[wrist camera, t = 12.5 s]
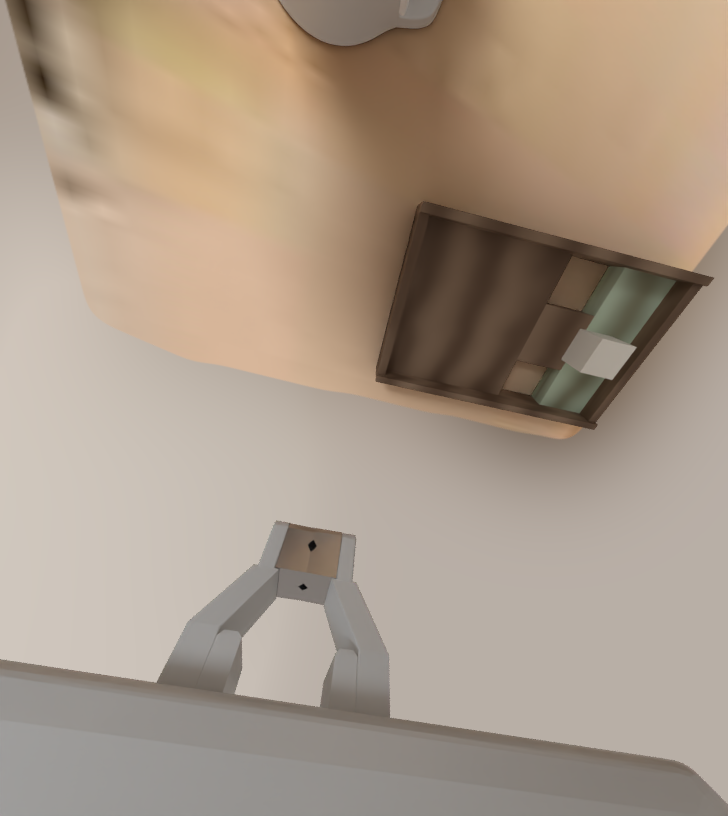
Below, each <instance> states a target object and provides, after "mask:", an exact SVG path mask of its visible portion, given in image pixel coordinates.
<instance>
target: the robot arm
mask: <svg viewBox="0 0 728 816" xmlns="http://www.w3.org/2000/svg"><path fill="white" fill-rule="evenodd" d="M279 1H280V2H281V4H282V5H283V7H284V8H285V10H286V11H287V12H288V13H289V15H290V16H291V17H292V18H293V19H294V21H295V22H296V23H297V24H298V25H299V26H300V27H302V28H303V29H304V30H305V31H306V32H308V33H309V34H311V35H312V36H314V37H315V38H317V39H319V40H321V41H323V42H326V43H329V44H333V45H339V46H351V45H357V44H361V43H364V42H367V41H369V40H371V39H373V38H375V37H377V36H379V35H380V34H382V33H384V32H386V31H388V30H390V29H392V28H396V27H399V28H411V29H413V28H423V27H426V26H428V25H429V24H431V22H432V21H433V20H434V19H435V17H436V15H437V13H438V10H439V8H440V5H441V3H442V0H279ZM355 545H356V537H355V535H351V534H344V533H342V532H335V531H330V530H323V529H318V528H311V527H306V526H301V525H296V524H291V523H287V522H281V521H276V522H275V524H274V526H273V528H272V531H271V534H270V536H269V539H268V541H267V544H266V546H265V549H264V551H263V554H262V557H261V559H260V562H259V564H258V565H255V564H254V565H253V566H252V567H250V568H249V569H248V570H247V571H246V572H245V573H244V574H242V575H241V576H240V577H239V578H238V579H237V580H235V581H234V582H233V583H232V584H231V585H230V586H229V587H227V588H226V589H225V590H224V591H223V592H222V593H220V594H219V595H218V596H217V597H216V598H215V599H213V600H212V601H211V602H210V603H209V604H208V605H207V606H206V607H204V608H203V609H202V610H201V611H200V612H198V613H197V614H196V615H195V616H194V617H193V618H192V619H190V620H189V621H188V623H187V624H186V626H185V628H184V630H183V632H182V634H181V636H180V638H179V640H178V642H177V644H176V646H175V648H174V650H173V652H172V654H171V655H170V658H169V659H168V661H167V663H166V665H165V667H164V669H163V671H162V673H161V675H160V677H159V679H158V681H157V683H154V682H147V681H141V680H134V679H128V678H121V677H114V676H107V675H101V674H94V673H88V672H81V671H74V670H68V669H61V668H54V667H47V666H41V665H34V664H27V663H21V662H14V661H7V660H1V659H0V816H728V804H727V803H726V802H725V801H724V800H723V799H722V798H721V797H720V796H719V795H718V794H717V793H716V792H715V791H714V790H713V789H712V788H711V787H710V786H709V785H708V784H707V783H706V782H705V781H704V780H703V779H702V778H701V777H700V776H699V775H698V774H697V773H696V772H695V771H694V770H692V769H691V768H690V767H688V766H686V765H684V764H683V763H680V762H677V761H674V760H668V759H663V758H656V757H650V756H643V755H636V754H629V753H623V752H616V751H609V750H602V749H596V748H589V747H582V746H576V745H569V744H563V743H555V742H549V741H543V740H536V739H529V738H522V737H516V736H509V735H502V734H496V733H489V732H482V731H475V730H469V729H462V728H455V727H449V726H442V725H435V724H428V723H422V722H415V721H409V720H402V719H394V718H390V689H389V654H388V652H387V650H386V647H385V645H384V643H383V641H382V638H381V636H380V634H379V632H378V630H377V627H376V625H375V623H374V621H373V619H372V616H371V614H370V612H369V610H368V607H367V605H366V603H365V601H364V599H363V596H362V594H361V592H360V590H359V587H358V585H357V583H356V582H352V579H353V567H354V556H355ZM276 597H281V598H288V599H296V600H301V601H306V602H311V603H316V604H321V605H324V609H325V613H326V616H327V619H328V623H329V626H330V630H331V633H332V637H333V640H334V643H335V647H336V650H337V652H336V653H335V656H334V658H333V661H332V663H331V665H330V668H329V670H328V672H327V675H326V677H325V680H324V683H323V690H322V697H321V704H320V707H315V706H307V705H301V704H295V703H287V702H282V701H274V700H268V699H261V698H254V697H247V696H241V695H235V694H234V693H235V690H236V687H237V683H238V680H239V677H240V674H241V671H242V637H243V636H244V635H245V634H246V632H247V631H248V630H249V629H250V628H251V627H252V626H253V624H254V623H255V622H256V621H257V620H258V619H259V617H260V616H261V615H262V614H263V613H264V612H265V611H266V610H267V608H268V607H269V606H270V605H271V604H272V603H273V602H274V600H275V599H276Z"/></svg>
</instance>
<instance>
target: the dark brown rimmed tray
mask: <svg viewBox="0 0 728 816" xmlns="http://www.w3.org/2000/svg"><path fill="white" fill-rule="evenodd" d="M572 256H574V257H578V258H582V259H585V260H589V261H593V262H597V263H601V264H605V265H608V266H609V267H608V269H607V270H606V272H605V274H604V275H603V277H602V279H601V280H600V282H599V283H598V285H597V287H596V288H595V290H594V292H593V293H592V295H591V297H590V298H589V300H588V302H587V303H586V305H585V307H584V308H583V310H582V311H578V310H573V309H569V308H565V307H561V306H557V305H553V304H549V303H547V302H548V300H549V298H550V296H551V294H552V293H553V291H554V289H555V287H556V285H557V283H558V281H559V279H560V278H561V276H562V274H563V272H564V270H565V268H566V266H567V264H568V262H569V261H570V259H571V257H572ZM713 279H714V278H713V277H709V276H705V275H701V274H698V273H694V272H690V271H686V270H683V269H679V268H675V267H671V266H667V265H664V264H660V263H656V262H652V261H649V260H645V259H641V258H637V257H633V256H630V255H626V254H622V253H618V252H614V251H611V250H607V249H603V248H599V247H595V246H592V245H588V244H584V243H580V242H576V241H573V240H569V239H565V238H561V237H557V236H554V235H550V234H546V233H542V232H538V231H535V230H531V229H527V228H523V227H519V226H516V225H512V224H508V223H504V222H500V221H497V220H493V219H489V218H485V217H482V216H478V215H474V214H470V213H466V212H463V211H459V210H455V209H451V208H447V207H444V206H440V205H436V204H432V203H428V202H425V201H423V202H422V203H421V204H420V205H418V206H417V210H416V214H415V218H414V222H413V226H412V230H411V233H410V237H409V241H408V245H407V249H406V253H405V257H404V261H403V265H402V269H401V272H400V276H399V280H398V284H397V288H396V292H395V296H394V300H393V304H392V308H391V311H390V315H389V319H388V323H387V327H386V331H385V335H384V339H383V343H382V347H381V350H380V354H379V358H378V362H377V366H376V382H380V383H385V384H389V385H394V386H398V387H403V388H407V389H412V390H416V391H421V392H426V393H430V394H435V395H439V396H444V397H448V398H453V399H457V400H462V401H466V402H471V403H475V404H480V405H484V406H489V407H493V408H498V409H502V410H507V411H512V412H516V413H521V414H525V415H530V416H534V417H539V418H543V419H548V420H552V421H557V422H561V423H566V424H570V425H575V426H579V427H584V428H588V429H593V430H594V429H595V428H596V427H597V424H596V421H597V420H598V419H599V417H600V416H601V415H602V414H603V412H604V411H605V410H606V409H607V407H608V406H609V405H610V403H611V402H612V401H613V400H614V398H615V397H616V396H617V395H618V393H619V392H620V391H621V389H622V388H623V387H624V386H625V384H626V383H627V381H628V380H629V379H630V378H631V377H632V375H633V374H634V373H635V372H636V370H637V369H638V368H639V366H640V365H641V364H642V363H643V361H644V360H645V359H646V357H647V356H648V355H649V354H650V352H651V351H652V350H653V349H654V347H655V346H656V345H657V343H658V342H659V341H660V339H661V338H662V337H663V336H664V334H665V333H666V332H667V331H668V329H669V328H670V327H671V326H672V324H673V323H674V322H675V320H676V319H677V318H678V317H679V315H680V314H681V313H682V312H683V310H684V309H685V308H686V306H687V305H688V304H689V302H690V301H691V300H692V299H693V297H694V296H695V295H696V294H697V292H698V291H699V290H700V289H701V287H702V286H708V285H709V284H710V283H711V281H712V280H713ZM580 329H584V330H588V331H592V332H596V333H600V334H604V335H608V336H611V337H614V338H616V339H619V340H621V341H623V342H626V343H628V344H630V345H633V346H635V347H637V348H636V349H635V351H634V352H633V353H632V354H631V356H630V357H629V358H628V360H627V361H626V362H625V364H624V365H623V366H622V368H621V369H620V370H619V372H618V373H617V374H616V376H615V377H614V378H613V380H610V379H606V378H602V377H598V376H593V375H589V374H585V373H581V372H579V371H577V370H576V369H574V368H573V367H571V366H570V365H568V364H567V363H566V362H564V361H563V360H561V359H562V357H563V355H564V354H565V352H566V351H567V349H568V347H569V346H570V344H571V343H572V341H573V339H574V338H575V336H576V335H577V333H578V331H579V330H580ZM516 360H518V361H522V362H526V363H530V364H535V365H539V366H543V367H548V368H547V370H546V372H545V373H544V375H543V377H542V378H541V380H540V382H539V383H538V385H537V387H536V388H535V390H534V392H533V393H532V395H531V396H530V395H525V394H521V393H517V392H512V391H508V390H503V389H502V387H503V385H504V383H505V381H506V379H507V377H508V376H509V374H510V372H511V370H512V368H513V366H514V364H515V362H516Z"/></svg>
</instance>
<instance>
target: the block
mask: <svg viewBox="0 0 728 816" xmlns="http://www.w3.org/2000/svg"><path fill="white" fill-rule="evenodd" d="M636 348H637V347H635V346H633V345H630V344H628V343H626V342H623V341H621V340H619V339H616V338H614V337H611V336H608V335H604V334H600V333H596V332H592V331H588V330H584V329H580V330H579V331H578V333H577V335H576V336H575V338H574V339H573V341H572V343H571V344H570V346H569V347H568V349H567V351H566V352H565V354H564V355H563V357H562V359H561V360H563V361H564V362H566V363H567V364H568V365H570V366H571V367H573V368H574V369H576V370H577V371H579V372H581V373H585V374H589V375H593V376H598V377H602V378H606V379H610V380H613V378H614V377H615V376H616V374H617V373H618V372H619V370H620V369H621V368H622V366H623V365H624V364H625V362H626V361H627V360H628V358H629V357H630V356H631V354H632V353H633V352H634V351H635V349H636Z"/></svg>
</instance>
